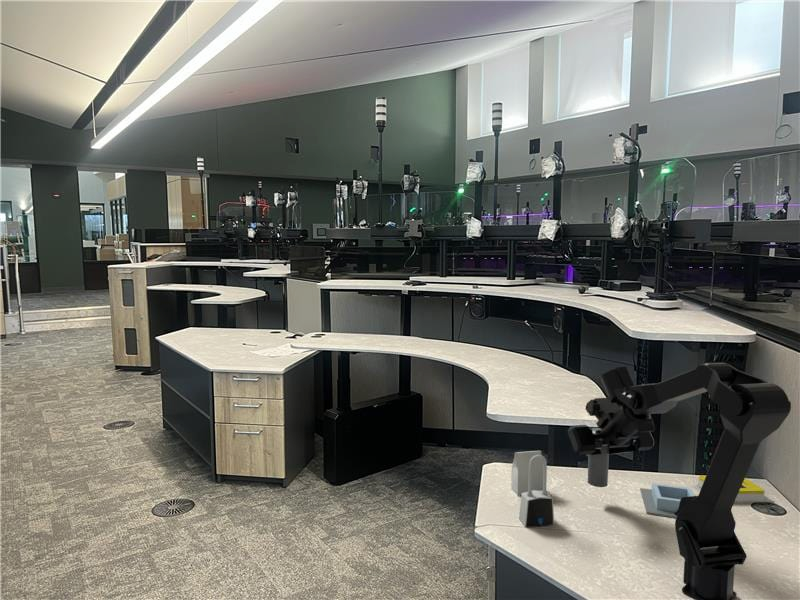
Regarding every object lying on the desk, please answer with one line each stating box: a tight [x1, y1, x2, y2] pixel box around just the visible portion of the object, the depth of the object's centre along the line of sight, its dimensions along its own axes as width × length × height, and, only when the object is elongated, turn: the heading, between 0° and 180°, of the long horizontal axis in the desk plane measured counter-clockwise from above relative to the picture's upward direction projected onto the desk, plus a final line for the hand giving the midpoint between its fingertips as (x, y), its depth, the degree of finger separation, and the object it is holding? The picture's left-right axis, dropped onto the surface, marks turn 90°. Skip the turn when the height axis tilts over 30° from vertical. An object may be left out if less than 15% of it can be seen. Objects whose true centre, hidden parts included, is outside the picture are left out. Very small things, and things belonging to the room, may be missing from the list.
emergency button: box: [692, 474, 774, 503], centre depth 127 cm, size 9×4×15 cm
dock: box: [639, 482, 696, 519], centre depth 121 cm, size 13×13×3 cm
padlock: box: [518, 454, 555, 528], centre depth 112 cm, size 7×4×15 cm, turn 100°
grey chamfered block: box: [511, 450, 543, 496], centre depth 127 cm, size 4×7×10 cm, turn 102°
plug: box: [587, 427, 610, 488], centre depth 121 cm, size 4×4×12 cm
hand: (595, 453), depth 122 cm, fingers closed on plug, 4 cm apart
